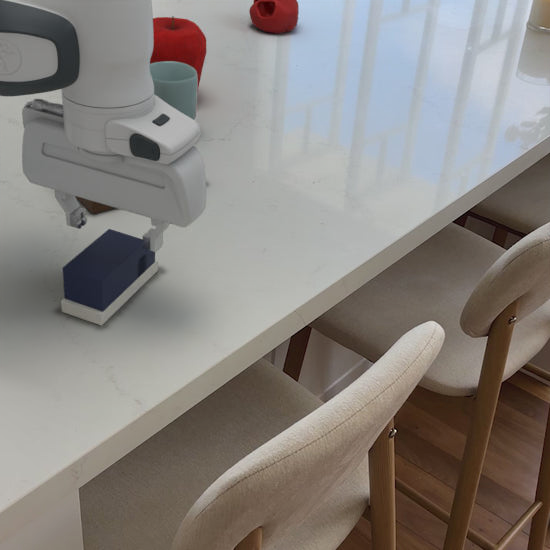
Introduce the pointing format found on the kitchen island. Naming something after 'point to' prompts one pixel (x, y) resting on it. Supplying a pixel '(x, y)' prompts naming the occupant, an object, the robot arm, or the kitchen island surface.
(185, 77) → the cup
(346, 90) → the kitchen island surface
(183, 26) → the apple
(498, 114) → the kitchen island surface
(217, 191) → the kitchen island surface
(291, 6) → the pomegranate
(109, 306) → the whiteboard eraser
